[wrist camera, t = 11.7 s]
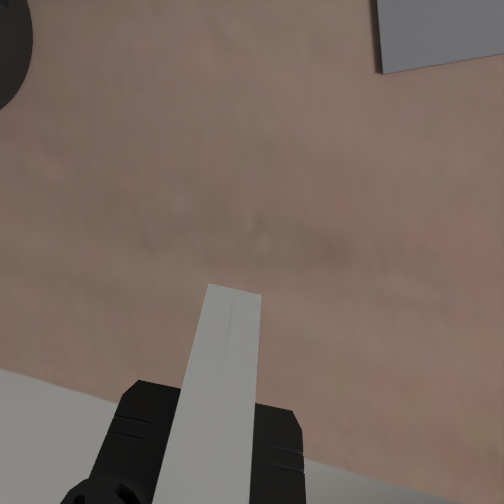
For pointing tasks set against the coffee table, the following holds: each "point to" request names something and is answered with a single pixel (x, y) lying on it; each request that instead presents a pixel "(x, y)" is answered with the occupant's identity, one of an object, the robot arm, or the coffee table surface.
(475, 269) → the coffee table surface
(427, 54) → the mat
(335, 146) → the coffee table surface
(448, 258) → the coffee table surface
